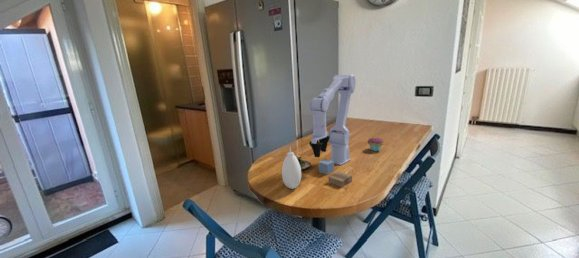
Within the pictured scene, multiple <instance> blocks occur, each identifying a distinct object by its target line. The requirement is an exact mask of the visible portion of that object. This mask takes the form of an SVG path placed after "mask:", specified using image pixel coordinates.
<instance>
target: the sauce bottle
mask: <svg viewBox="0 0 579 258" xmlns="http://www.w3.org/2000/svg"><path fill="white" fill-rule="evenodd" d="M281 178H282V181H283V183H284V185H285V186H286V187H287V188H288V189H291V190H294V189H296V188H297V187H298V186H299V185H300V183H301V180H302V170H301V167H300V164H299V161H298V159H297V158H296V155H295V152H293V151H292V147H291V146H289V151H288V152H287V153H286V155H285V158H284V160H283V163H282V169H281Z"/></svg>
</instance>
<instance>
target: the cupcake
mask: <svg viewBox="0 0 579 258" xmlns="http://www.w3.org/2000/svg"><path fill="white" fill-rule="evenodd" d="M371 132H372V133H371V134H372V137H370V138H369V139H368V140H367V144H368V145H369V148H370V150H371V151H374V152H378V151H380V150H381V147H382V146H383V145H384V143H385V142H384V139H382V138H381V137H377V136H376V137H375V133H374V130H373V129H372V131H371Z"/></svg>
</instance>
